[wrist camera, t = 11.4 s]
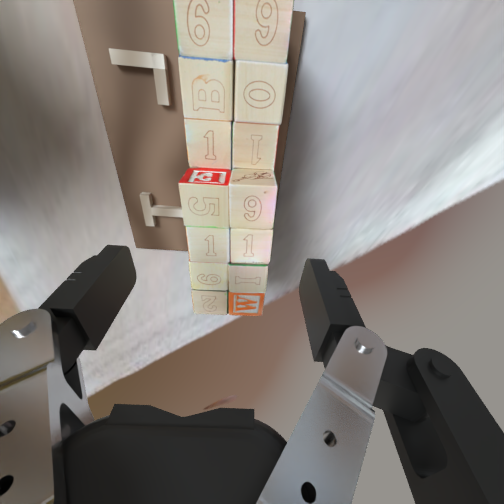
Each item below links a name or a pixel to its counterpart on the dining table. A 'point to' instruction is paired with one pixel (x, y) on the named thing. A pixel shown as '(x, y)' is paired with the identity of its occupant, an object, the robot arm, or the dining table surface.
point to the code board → (152, 108)
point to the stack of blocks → (231, 144)
